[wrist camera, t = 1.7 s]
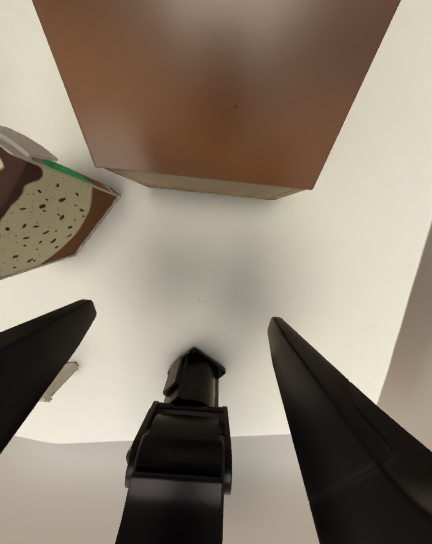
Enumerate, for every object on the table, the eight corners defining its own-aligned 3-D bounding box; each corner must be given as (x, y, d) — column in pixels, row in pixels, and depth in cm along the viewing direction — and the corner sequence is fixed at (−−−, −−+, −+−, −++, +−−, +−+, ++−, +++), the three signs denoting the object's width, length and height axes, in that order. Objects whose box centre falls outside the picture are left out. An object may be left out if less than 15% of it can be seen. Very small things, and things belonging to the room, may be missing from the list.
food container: (77, 134, 16) (-138, 6, 6) (129, 185, 17) (16, 143, 8) (21, 226, 19) (-186, 235, 9) (69, 263, 20) (-68, 305, 10)
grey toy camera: (11, 374, 26) (-47, 418, 20) (4, 366, 25) (-56, 408, 20) (81, 368, 25) (42, 411, 20) (76, 359, 25) (35, 401, 19)
